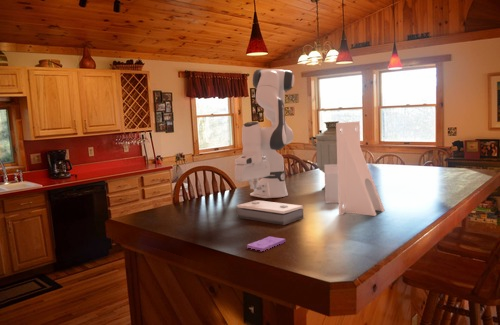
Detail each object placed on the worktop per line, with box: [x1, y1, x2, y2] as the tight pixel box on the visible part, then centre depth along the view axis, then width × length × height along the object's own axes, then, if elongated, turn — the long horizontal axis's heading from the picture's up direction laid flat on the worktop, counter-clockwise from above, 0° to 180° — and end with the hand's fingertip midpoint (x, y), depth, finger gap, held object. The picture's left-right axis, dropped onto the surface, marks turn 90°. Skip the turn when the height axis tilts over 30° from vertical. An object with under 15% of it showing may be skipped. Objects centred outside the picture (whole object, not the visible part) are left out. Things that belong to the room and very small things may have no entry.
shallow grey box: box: [236, 207, 304, 226], centre depth 177 cm, size 26×14×4 cm, turn 48°
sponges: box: [246, 235, 286, 252], centre depth 138 cm, size 7×13×2 cm, turn 139°
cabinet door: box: [236, 200, 304, 214], centre depth 177 cm, size 26×14×2 cm, turn 48°
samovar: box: [309, 120, 341, 191], centre depth 239 cm, size 30×26×40 cm
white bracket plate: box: [336, 121, 386, 217], centre depth 177 cm, size 20×14×40 cm
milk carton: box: [324, 164, 339, 204], centre depth 203 cm, size 7×7×19 cm
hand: (253, 188), depth 182 cm, fingers closed
